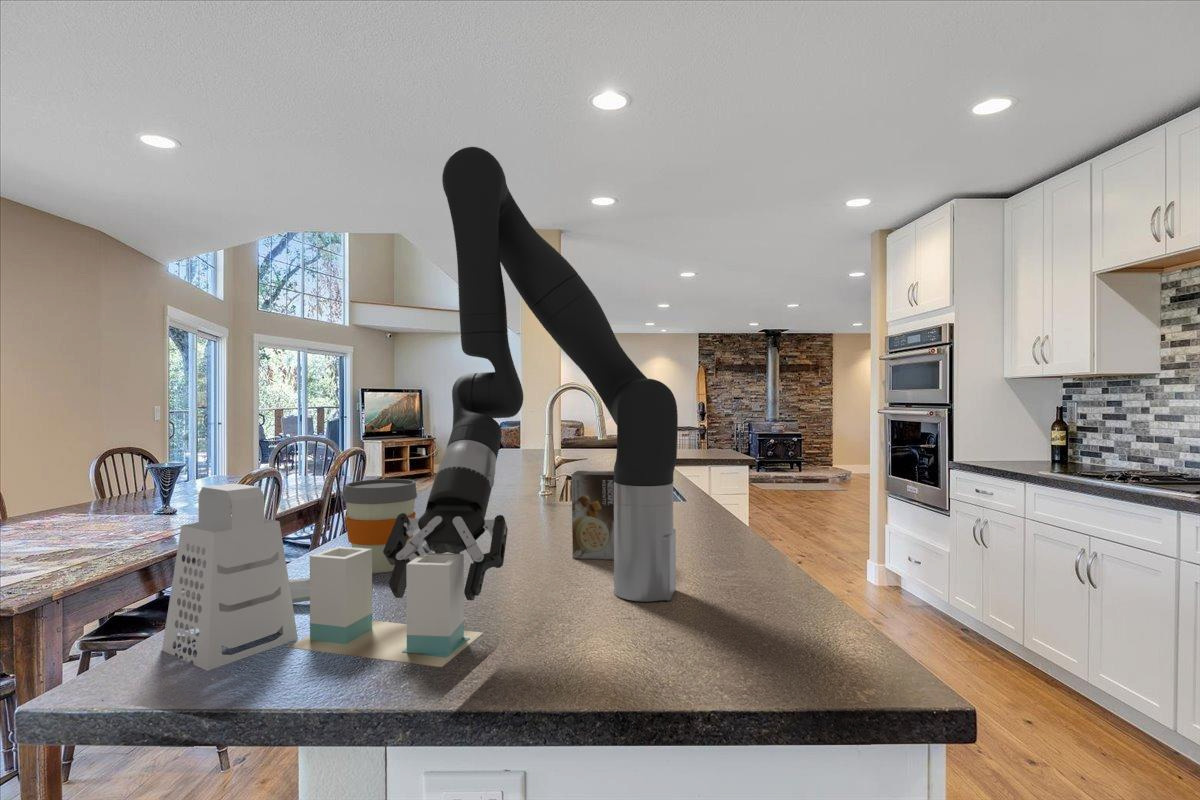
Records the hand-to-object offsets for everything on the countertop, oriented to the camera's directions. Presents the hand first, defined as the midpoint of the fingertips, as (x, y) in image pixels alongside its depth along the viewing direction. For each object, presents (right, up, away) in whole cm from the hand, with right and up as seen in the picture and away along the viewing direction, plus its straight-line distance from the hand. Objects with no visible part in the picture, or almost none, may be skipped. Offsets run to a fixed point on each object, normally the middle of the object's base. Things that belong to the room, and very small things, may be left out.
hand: (432, 596), depth 71 cm
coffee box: (+19, -8, +49) cm, 53 cm away
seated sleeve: (-12, -6, +5) cm, 15 cm away
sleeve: (0, -6, +1) cm, 6 cm away
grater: (-24, -8, +2) cm, 25 cm away
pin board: (-6, -8, +3) cm, 10 cm away
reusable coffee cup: (-20, -8, +41) cm, 47 cm away
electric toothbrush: (-27, -8, +16) cm, 32 cm away
